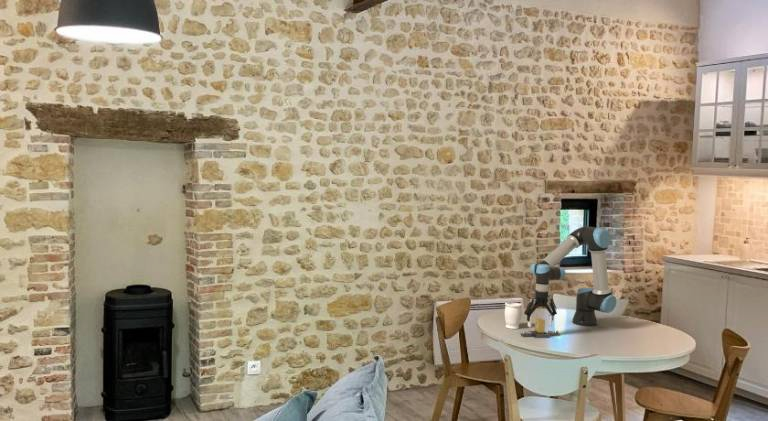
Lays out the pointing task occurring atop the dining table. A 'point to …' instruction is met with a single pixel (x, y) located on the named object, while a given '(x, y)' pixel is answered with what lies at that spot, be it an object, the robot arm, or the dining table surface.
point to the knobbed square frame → (545, 335)
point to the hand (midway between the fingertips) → (539, 326)
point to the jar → (513, 315)
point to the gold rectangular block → (539, 326)
